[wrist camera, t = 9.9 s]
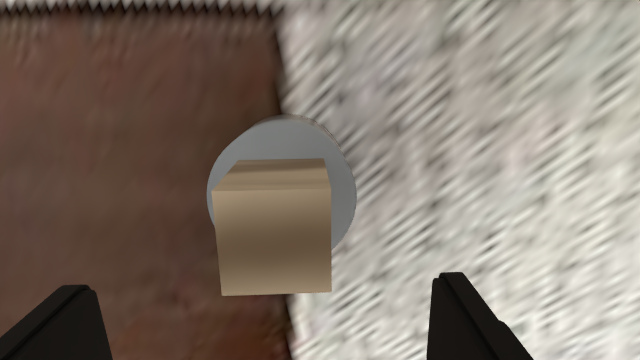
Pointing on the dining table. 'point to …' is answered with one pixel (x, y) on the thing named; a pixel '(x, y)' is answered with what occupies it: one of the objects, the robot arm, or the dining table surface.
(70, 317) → the robot arm
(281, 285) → the maple block
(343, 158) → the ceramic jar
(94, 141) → the dining table surface
